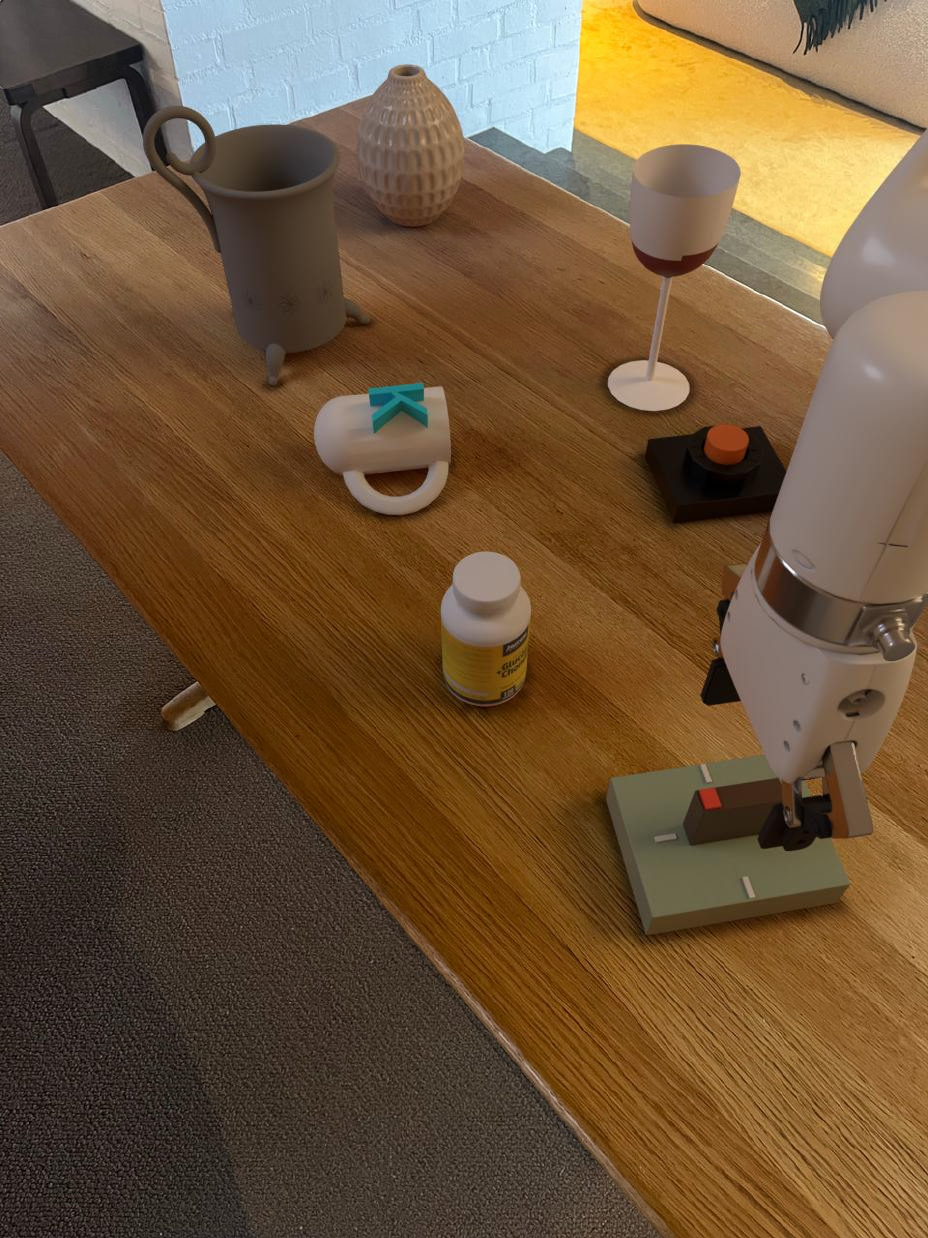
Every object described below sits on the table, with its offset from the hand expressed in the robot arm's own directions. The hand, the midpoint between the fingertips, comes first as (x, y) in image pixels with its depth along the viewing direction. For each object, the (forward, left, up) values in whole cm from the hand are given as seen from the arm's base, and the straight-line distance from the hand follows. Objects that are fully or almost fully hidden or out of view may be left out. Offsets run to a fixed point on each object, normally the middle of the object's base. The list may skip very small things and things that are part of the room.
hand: (753, 765), depth 56 cm
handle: (0, 0, -8) cm, 8 cm away
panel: (0, 0, -11) cm, 11 cm away
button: (-12, -35, -8) cm, 38 cm away
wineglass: (-10, -50, -12) cm, 52 cm away
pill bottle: (+13, -17, -12) cm, 24 cm away
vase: (+9, -88, -12) cm, 89 cm away
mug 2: (+18, -41, -12) cm, 46 cm away
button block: (-12, -35, -11) cm, 39 cm away
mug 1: (+26, -64, -12) cm, 70 cm away
